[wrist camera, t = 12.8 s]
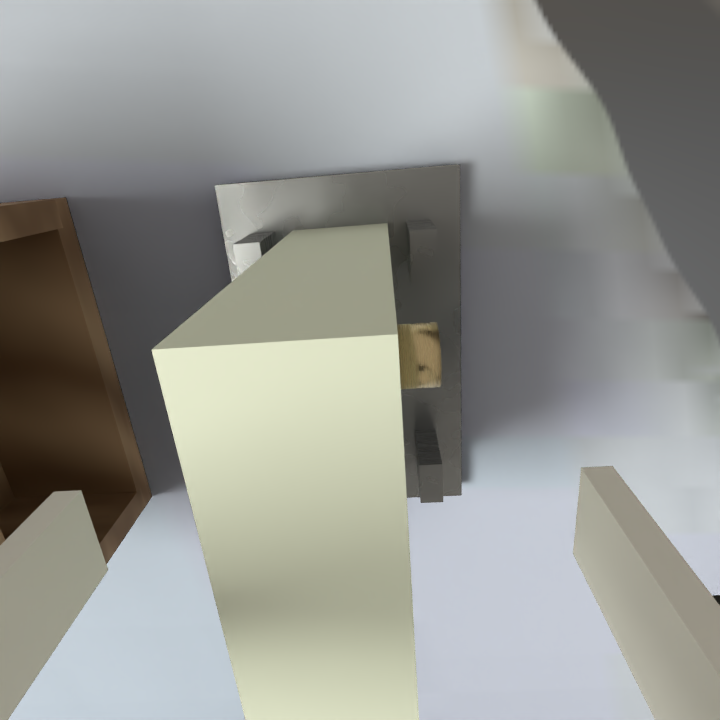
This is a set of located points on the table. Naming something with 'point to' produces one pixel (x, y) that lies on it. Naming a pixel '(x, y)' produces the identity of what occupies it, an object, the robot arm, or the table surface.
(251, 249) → the grey pegged base plate
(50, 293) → the cabinet
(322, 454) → the door panel
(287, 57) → the table surface
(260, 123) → the table surface
